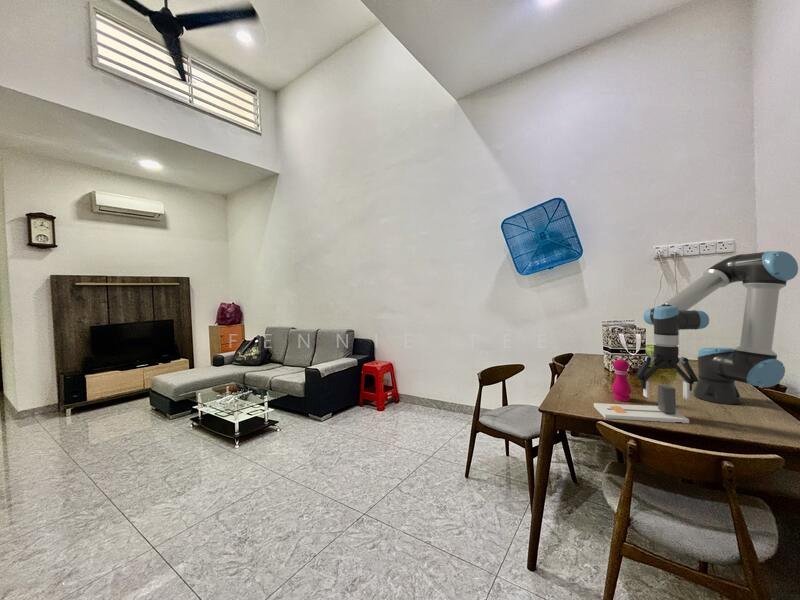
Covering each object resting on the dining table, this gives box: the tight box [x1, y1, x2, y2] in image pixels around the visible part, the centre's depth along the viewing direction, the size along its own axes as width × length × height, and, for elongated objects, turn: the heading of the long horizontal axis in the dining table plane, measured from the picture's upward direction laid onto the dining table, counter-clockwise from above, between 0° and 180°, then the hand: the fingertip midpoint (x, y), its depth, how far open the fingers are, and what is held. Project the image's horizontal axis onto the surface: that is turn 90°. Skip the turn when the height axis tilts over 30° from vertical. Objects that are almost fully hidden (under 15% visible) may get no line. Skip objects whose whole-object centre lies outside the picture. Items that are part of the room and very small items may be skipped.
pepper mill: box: [611, 356, 632, 402], centre depth 145 cm, size 7×7×20 cm
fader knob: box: [657, 384, 677, 414], centre depth 125 cm, size 4×5×10 cm
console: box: [593, 402, 690, 424], centre depth 128 cm, size 28×13×2 cm, turn 75°
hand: (665, 397), depth 125 cm, fingers open, 13 cm apart
